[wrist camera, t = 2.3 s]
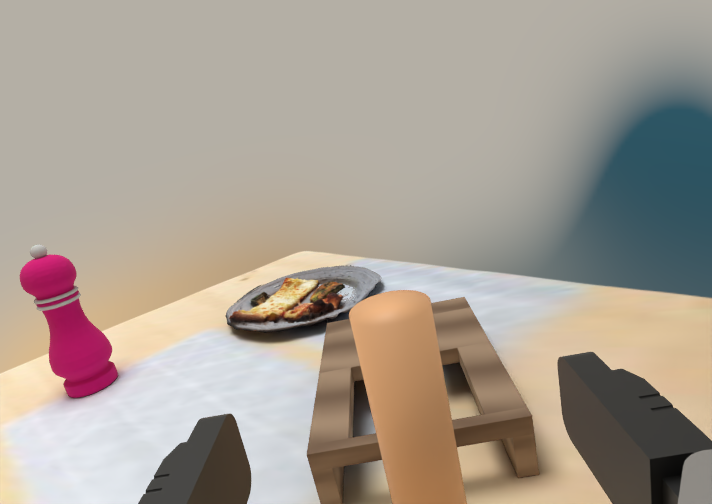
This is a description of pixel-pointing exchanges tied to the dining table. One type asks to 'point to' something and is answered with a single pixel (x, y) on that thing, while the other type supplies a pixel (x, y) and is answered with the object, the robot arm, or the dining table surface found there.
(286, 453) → the dining table surface
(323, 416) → the keyhole base
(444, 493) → the peg
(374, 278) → the food plate
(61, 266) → the pepper mill
